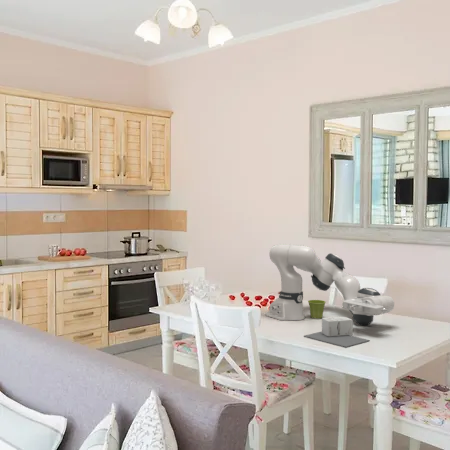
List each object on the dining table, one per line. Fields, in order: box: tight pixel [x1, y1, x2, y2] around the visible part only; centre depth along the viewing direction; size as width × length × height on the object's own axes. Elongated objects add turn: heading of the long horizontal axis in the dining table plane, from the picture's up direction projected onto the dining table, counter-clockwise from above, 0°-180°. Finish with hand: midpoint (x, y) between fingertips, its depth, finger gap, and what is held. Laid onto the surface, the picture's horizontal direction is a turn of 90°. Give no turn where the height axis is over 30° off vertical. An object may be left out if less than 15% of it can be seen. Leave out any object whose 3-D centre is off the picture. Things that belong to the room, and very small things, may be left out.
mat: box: [303, 330, 371, 349], centre depth 250 cm, size 24×17×1 cm
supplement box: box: [321, 316, 354, 336], centre depth 256 cm, size 7×7×13 cm
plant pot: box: [307, 299, 327, 319], centre depth 294 cm, size 9×9×9 cm
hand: (352, 309), depth 256 cm, fingers closed
